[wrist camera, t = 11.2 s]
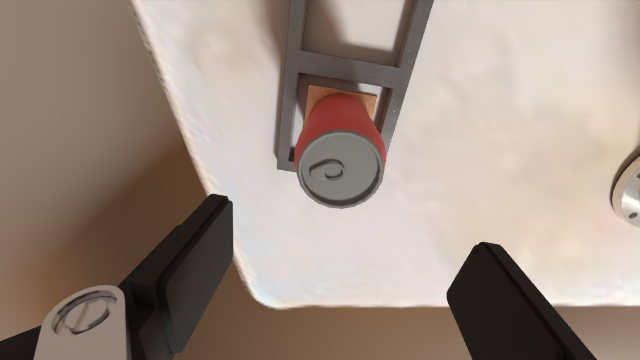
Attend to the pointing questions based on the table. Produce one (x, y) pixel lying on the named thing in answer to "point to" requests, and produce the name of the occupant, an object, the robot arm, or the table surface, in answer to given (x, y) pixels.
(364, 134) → the beer can
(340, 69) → the gray rectangular frame
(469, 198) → the table surface
